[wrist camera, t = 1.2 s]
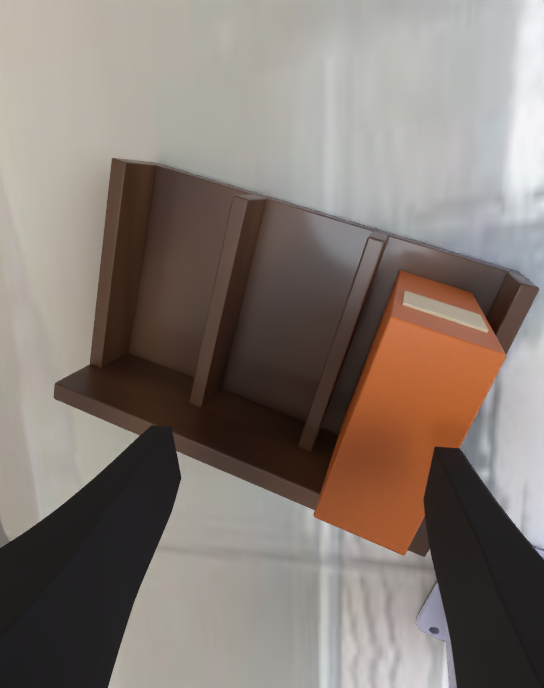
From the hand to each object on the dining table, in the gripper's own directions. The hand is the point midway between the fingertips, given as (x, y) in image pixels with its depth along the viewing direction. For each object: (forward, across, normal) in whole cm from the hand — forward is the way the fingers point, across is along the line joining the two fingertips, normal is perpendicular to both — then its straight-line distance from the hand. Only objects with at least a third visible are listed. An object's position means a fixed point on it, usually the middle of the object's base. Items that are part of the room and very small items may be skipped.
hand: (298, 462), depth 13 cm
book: (+9, -4, +2) cm, 10 cm away
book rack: (+11, +1, +2) cm, 11 cm away
